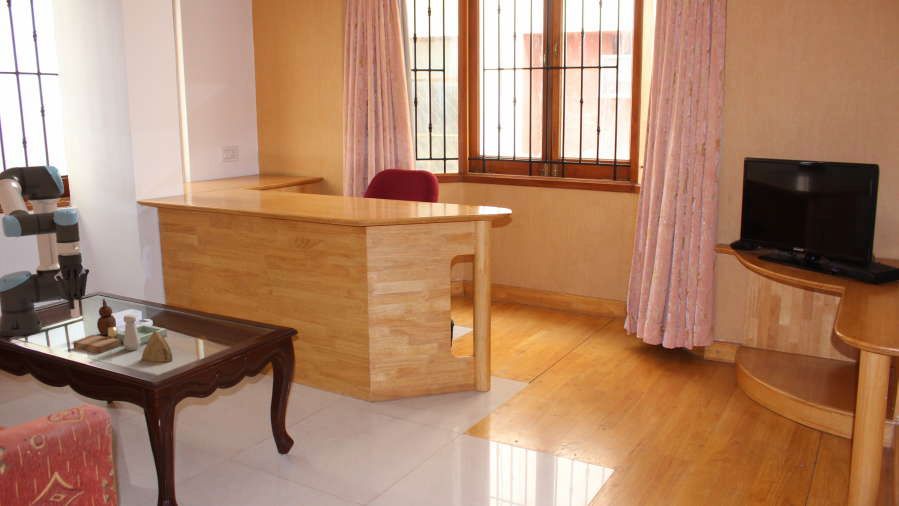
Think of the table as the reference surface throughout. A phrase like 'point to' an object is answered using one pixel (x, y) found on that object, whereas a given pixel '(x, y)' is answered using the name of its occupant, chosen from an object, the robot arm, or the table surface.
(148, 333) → the tray
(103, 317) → the wooden figurine
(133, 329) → the salt shaker
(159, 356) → the tan rounded pyramid
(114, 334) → the bench dog
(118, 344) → the brown grooved block
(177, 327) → the table surface
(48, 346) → the table surface
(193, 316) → the table surface
